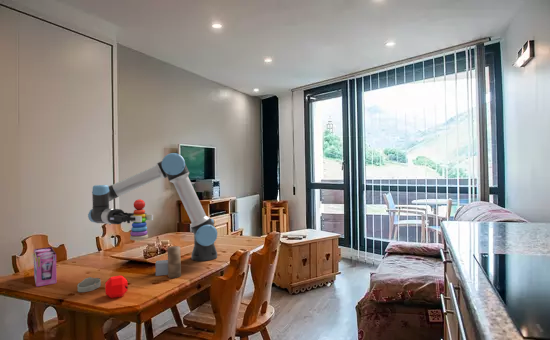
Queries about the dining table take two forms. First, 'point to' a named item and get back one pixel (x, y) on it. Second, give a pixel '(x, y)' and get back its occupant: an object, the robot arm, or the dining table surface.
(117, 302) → the dining table surface
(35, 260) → the gum box
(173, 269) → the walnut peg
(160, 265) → the grey cube
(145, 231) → the stacking toy
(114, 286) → the ball
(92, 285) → the grey oval piece
